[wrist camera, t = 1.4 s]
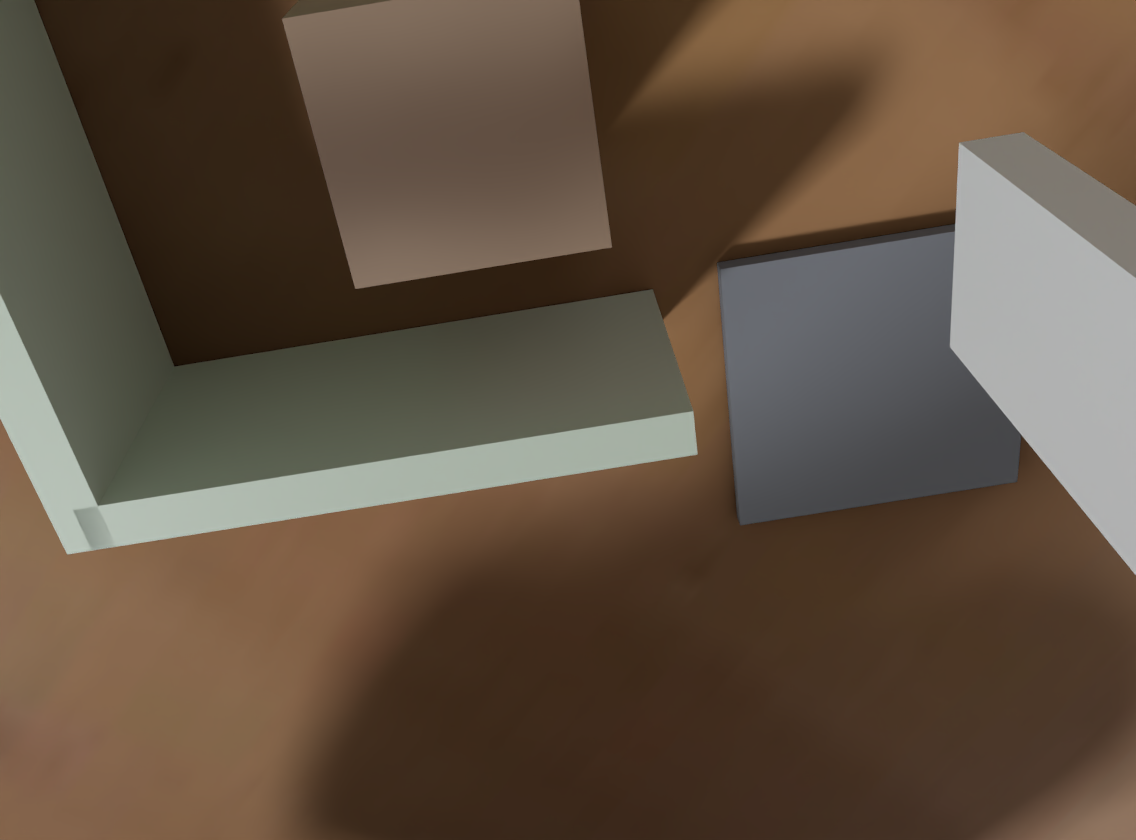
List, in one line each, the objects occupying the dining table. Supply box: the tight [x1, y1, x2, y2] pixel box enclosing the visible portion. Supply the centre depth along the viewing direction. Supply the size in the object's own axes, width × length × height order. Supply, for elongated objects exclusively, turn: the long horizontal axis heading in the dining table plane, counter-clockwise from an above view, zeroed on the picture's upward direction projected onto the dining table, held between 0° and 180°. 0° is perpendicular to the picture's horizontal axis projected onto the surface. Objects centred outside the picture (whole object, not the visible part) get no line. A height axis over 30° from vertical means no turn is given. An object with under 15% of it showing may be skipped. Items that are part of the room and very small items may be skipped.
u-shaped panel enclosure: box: [0, 0, 698, 554], centre depth 24 cm, size 15×16×7 cm
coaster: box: [717, 224, 1021, 525], centre depth 32 cm, size 9×9×1 cm
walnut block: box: [282, 0, 612, 289], centre depth 24 cm, size 6×6×7 cm
